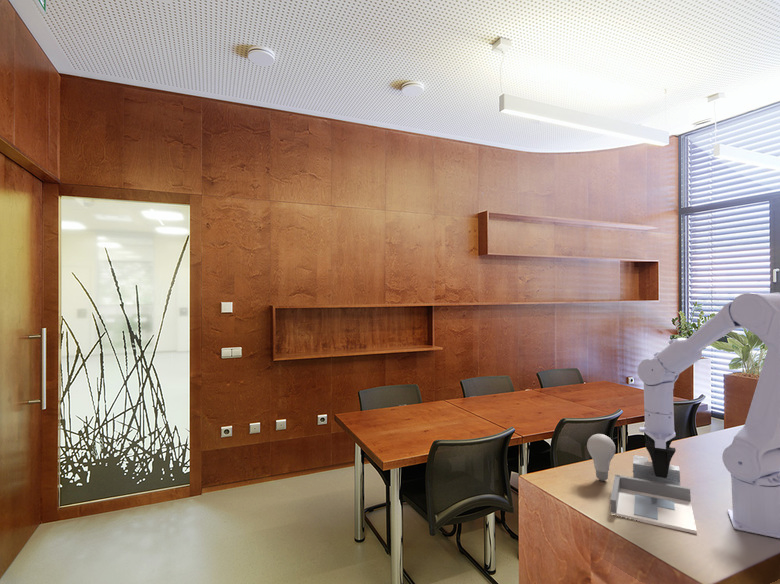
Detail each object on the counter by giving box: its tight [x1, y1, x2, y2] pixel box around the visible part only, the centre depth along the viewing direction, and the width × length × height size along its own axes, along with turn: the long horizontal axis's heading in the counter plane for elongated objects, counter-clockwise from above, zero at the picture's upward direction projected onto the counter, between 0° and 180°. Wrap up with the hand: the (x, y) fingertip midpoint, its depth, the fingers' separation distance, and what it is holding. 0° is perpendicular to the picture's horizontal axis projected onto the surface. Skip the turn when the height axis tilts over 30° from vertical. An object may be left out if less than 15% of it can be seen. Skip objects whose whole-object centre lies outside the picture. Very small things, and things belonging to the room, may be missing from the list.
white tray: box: [609, 474, 698, 535], centre depth 86 cm, size 14×14×3 cm
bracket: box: [632, 454, 681, 486], centre depth 98 cm, size 9×6×5 cm, turn 58°
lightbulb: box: [586, 433, 617, 482], centre depth 100 cm, size 6×6×11 cm
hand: (660, 470), depth 96 cm, fingers open, 7 cm apart
